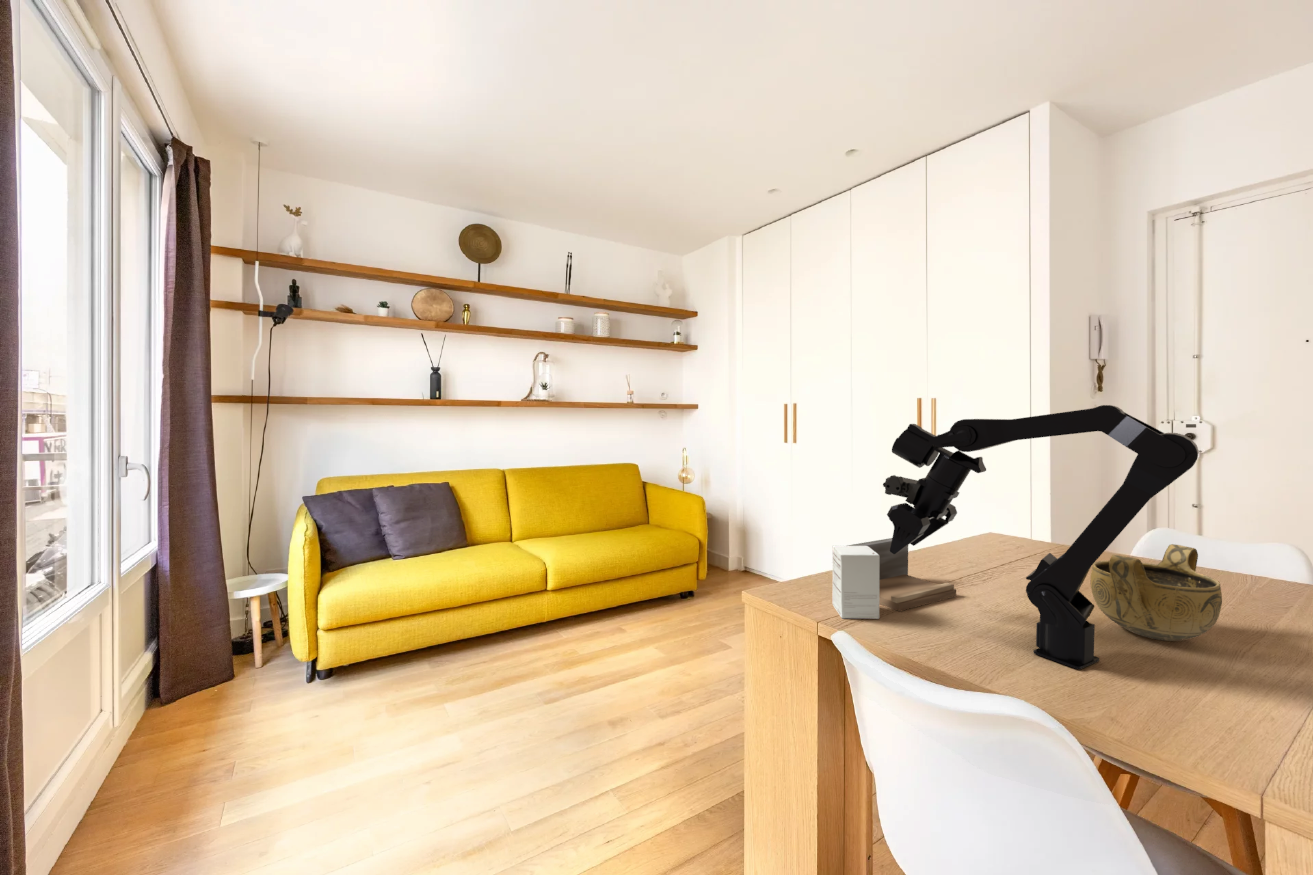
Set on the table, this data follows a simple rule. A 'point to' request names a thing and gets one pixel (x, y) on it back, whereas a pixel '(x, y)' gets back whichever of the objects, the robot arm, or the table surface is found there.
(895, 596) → the ledge
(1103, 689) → the table surface
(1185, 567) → the ceramic bowl
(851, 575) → the supplement box
